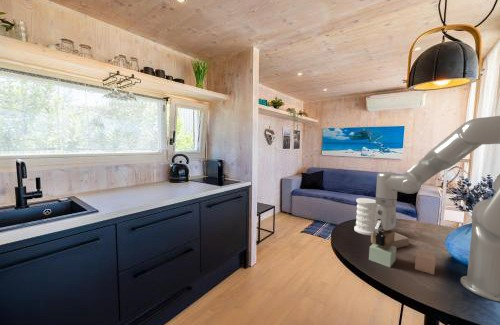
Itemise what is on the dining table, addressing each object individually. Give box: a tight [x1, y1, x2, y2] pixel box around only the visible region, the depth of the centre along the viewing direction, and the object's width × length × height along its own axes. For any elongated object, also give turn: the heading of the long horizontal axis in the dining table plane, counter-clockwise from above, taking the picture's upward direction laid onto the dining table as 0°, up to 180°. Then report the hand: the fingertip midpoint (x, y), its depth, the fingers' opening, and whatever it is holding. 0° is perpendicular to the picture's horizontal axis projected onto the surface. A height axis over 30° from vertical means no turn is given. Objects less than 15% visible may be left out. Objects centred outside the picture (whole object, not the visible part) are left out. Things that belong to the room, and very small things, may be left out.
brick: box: [370, 232, 410, 249], centre depth 110 cm, size 17×8×5 cm, turn 109°
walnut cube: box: [373, 227, 396, 249], centre depth 95 cm, size 6×6×6 cm
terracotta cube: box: [414, 249, 436, 275], centre depth 89 cm, size 6×6×6 cm
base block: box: [368, 243, 397, 268], centre depth 96 cm, size 8×8×6 cm
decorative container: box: [353, 197, 377, 236], centre depth 126 cm, size 12×12×18 cm
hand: (383, 242), depth 95 cm, fingers closed on walnut cube, 5 cm apart
